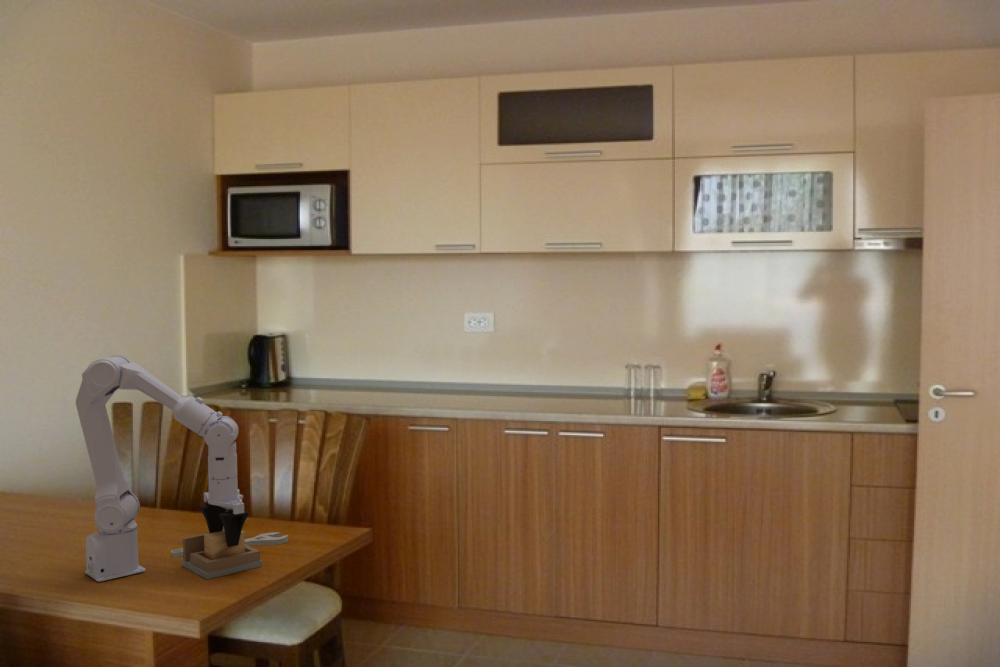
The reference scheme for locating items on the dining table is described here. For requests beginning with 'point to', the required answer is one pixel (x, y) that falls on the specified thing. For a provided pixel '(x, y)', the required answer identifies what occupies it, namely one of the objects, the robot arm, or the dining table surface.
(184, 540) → the stand
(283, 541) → the adjustable wrench
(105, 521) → the robot arm
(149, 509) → the dining table surface
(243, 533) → the light wooden block
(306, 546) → the dining table surface
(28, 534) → the dining table surface
